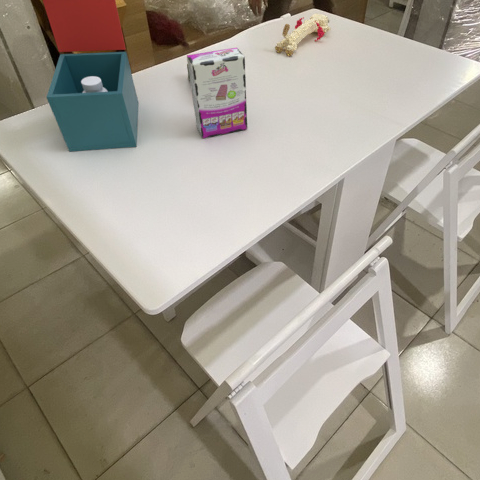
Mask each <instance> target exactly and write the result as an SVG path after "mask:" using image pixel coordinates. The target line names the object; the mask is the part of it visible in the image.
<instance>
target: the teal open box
mask: <svg viewBox="0 0 480 480" xmlns="http://www.w3.org/2000/svg"><path fill="white" fill-rule="evenodd" d="M128 57H129V56H128V52H127V51H109V52H108V51H107V52H106V51H105V52H86V53H85V52H81V53H79V52H77V53H60V54H59V57H58V60H57V63H56V66H55V70H54V73H53V75H52V79H51V81H50V84H49V88H48V91H47V94H46V99H47V100H46V101H47V102H48V105H49V107H50V109H51V112H52V114H53V117H54V118H55V121H56V123H57V126H58V128H59V131H60V133H61V136H62V138H63V141H64V142H65V145H66V147H67V149H68V151H69V152H82V151H97V150H109V149H123V148H124V149H125V148H137V144H138V143H137V142H138V127H139V126H138V123H139V122H138V121H139V99H138V95H137V90H136V86H135V82H134V78H133V74H132V69H131V65H130V62H129V58H128ZM90 76H96V77H99V78H100V79H101V81H102V84H103V87H104V88H105V89H106V90H107V91H108V92H92V93H82V92H83V91H84V89H83V86H82V83H81V81H82V79H84V78H86V77H90Z"/></svg>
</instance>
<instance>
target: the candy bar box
mask: <svg viewBox="0 0 480 480" xmlns="http://www.w3.org/2000/svg"><path fill="white" fill-rule="evenodd" d="M245 57H246V56H245V54H243V53H242V51H240V49H239V48H238V47H232V48H225V49H218V50H212V51H206V52H205V51H204V52H199V53H192V54H187V55H186V63H187V64H188V69H189V76H190V81H189V82H190V89H191V95H192V103H193V110H194V118H195V124H196V125H195V126H196V129H197V131H198V132H199V135H200V136H201V138H202V139H208V138H212V137H217V136H221V135H226V134H231V133H235V132H240V131H245V130H248V114H247V111H248V109H247V85H246V84H247V81H246V59H245Z"/></svg>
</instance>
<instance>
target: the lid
mask: <svg viewBox="0 0 480 480" xmlns="http://www.w3.org/2000/svg"><path fill="white" fill-rule="evenodd" d="M42 3H43V6H44V9H45V13H46V16H47V19H48V22H49V25H50V28H51V31H52V34H53V35H52V36H53V38H54V41H55V44H56V47H57V49H58V52H59V53H75V52H77V53H78V52H103V51H125V50H126V49H127V47H126V43H125V39H124V34H123V29H122V25H121V20H120V16H119V10H118V6H117V2H116V0H42Z"/></svg>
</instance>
